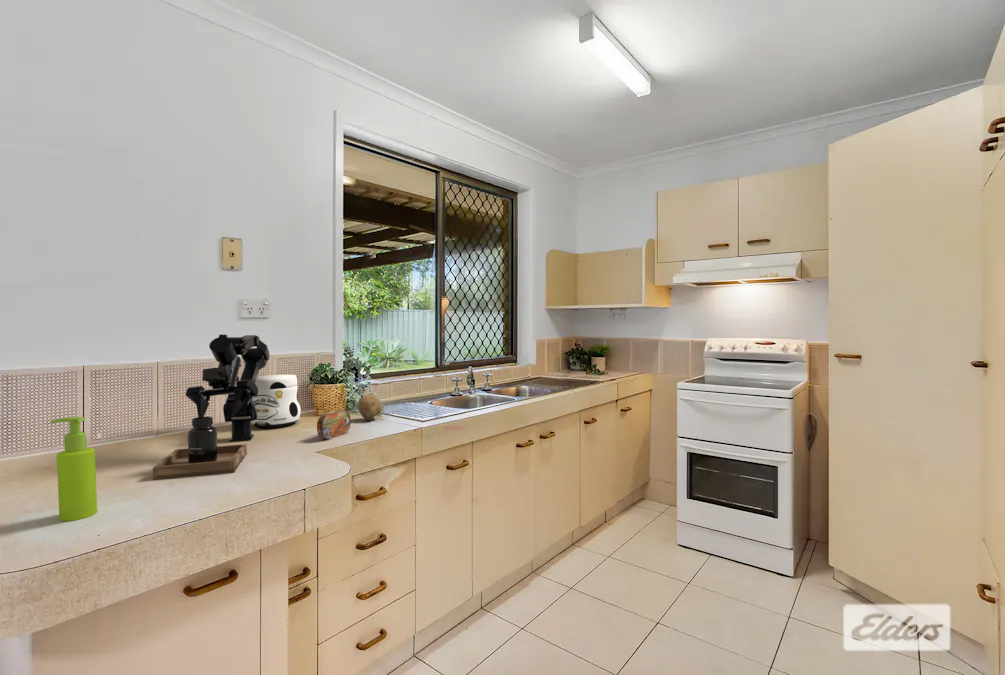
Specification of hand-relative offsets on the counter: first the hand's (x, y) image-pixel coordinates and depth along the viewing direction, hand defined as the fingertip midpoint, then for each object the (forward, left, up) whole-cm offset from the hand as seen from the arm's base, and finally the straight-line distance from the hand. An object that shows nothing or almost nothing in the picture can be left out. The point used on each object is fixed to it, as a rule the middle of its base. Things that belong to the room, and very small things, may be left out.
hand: (216, 417), depth 143 cm
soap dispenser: (+39, -17, -12) cm, 44 cm away
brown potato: (-38, +45, -12) cm, 60 cm away
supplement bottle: (+8, -2, -11) cm, 14 cm away
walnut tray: (+9, -1, -12) cm, 14 cm away
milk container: (-41, +11, -12) cm, 44 cm away
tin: (-15, +32, -12) cm, 37 cm away
